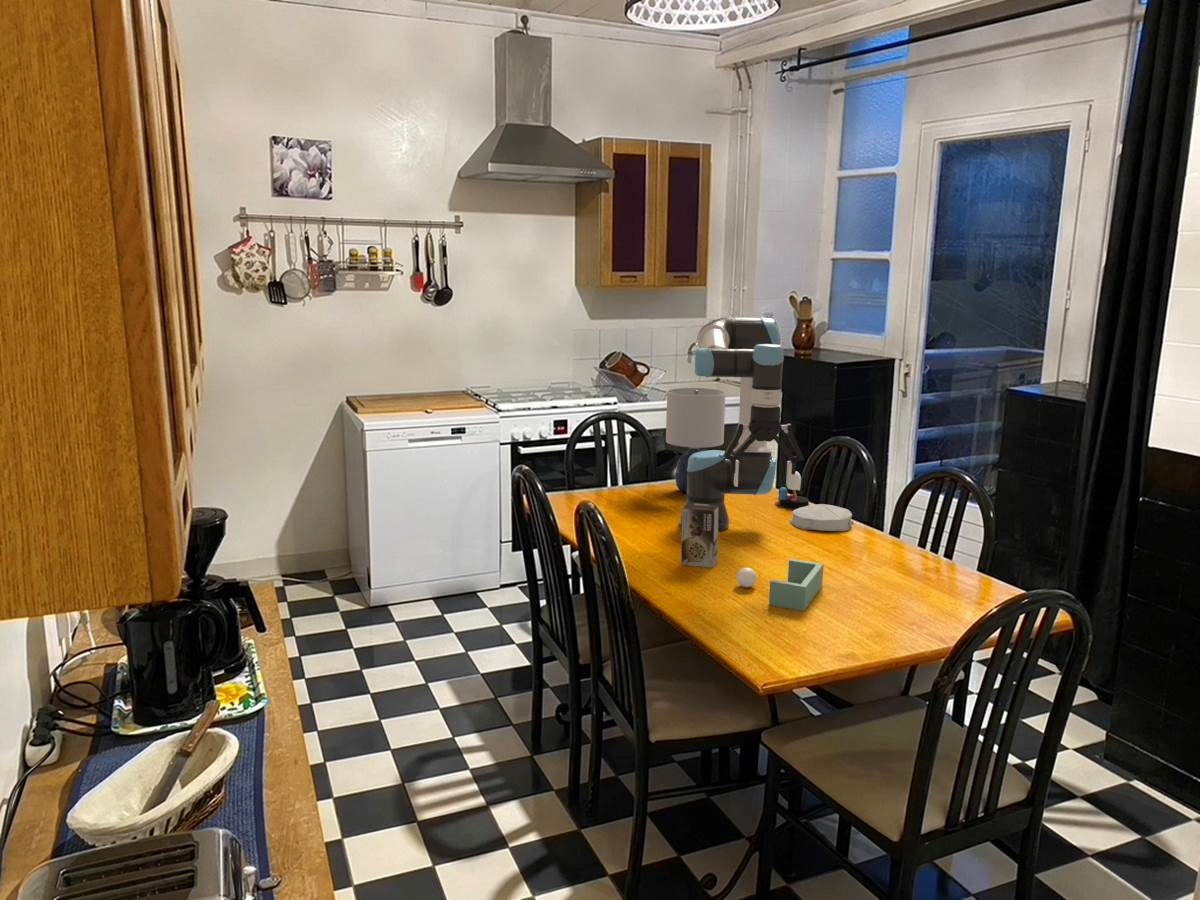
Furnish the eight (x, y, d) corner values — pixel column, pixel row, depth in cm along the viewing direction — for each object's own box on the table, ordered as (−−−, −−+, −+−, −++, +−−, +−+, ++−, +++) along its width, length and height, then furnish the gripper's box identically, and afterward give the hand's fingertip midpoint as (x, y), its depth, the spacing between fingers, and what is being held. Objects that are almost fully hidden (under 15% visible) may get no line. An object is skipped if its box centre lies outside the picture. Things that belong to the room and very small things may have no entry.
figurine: (774, 501, 311) (776, 467, 309) (807, 502, 310) (809, 468, 307) (775, 508, 302) (777, 473, 300) (809, 509, 301) (811, 474, 298)
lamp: (661, 497, 314) (664, 392, 307) (667, 483, 334) (669, 385, 326) (720, 500, 311) (724, 394, 303) (722, 486, 331) (726, 387, 323)
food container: (843, 538, 272) (845, 516, 270) (780, 526, 282) (782, 505, 280) (862, 523, 288) (864, 503, 287) (802, 512, 299) (803, 493, 297)
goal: (768, 605, 216) (770, 581, 215) (789, 580, 232) (790, 558, 231) (804, 611, 212) (805, 587, 211) (822, 586, 229) (823, 563, 228)
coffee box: (718, 561, 247) (720, 504, 244) (713, 568, 241) (715, 510, 238) (685, 557, 250) (687, 501, 247) (680, 564, 244) (681, 507, 241)
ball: (733, 588, 227) (734, 569, 226) (739, 582, 231) (740, 563, 230) (753, 591, 225) (753, 572, 224) (758, 585, 229) (759, 566, 228)
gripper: (718, 406, 227) (715, 488, 231) (817, 408, 226) (813, 490, 230) (715, 402, 235) (712, 481, 239) (812, 404, 234) (807, 483, 238)
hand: (762, 486), depth 235 cm, fingers open, 13 cm apart
